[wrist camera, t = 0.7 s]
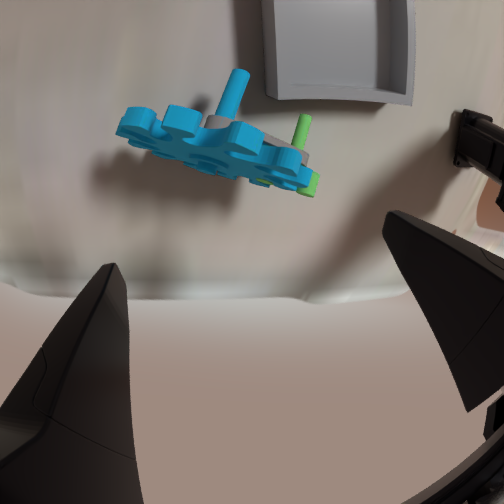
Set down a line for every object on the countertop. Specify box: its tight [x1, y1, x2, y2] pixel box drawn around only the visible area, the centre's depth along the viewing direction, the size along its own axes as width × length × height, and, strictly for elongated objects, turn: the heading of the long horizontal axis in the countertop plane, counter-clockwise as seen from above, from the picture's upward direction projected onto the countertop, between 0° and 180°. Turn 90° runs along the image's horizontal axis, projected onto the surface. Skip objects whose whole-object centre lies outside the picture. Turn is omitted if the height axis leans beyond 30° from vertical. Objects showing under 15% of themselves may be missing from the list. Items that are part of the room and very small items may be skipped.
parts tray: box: [261, 0, 416, 106], centre depth 11 cm, size 11×15×2 cm
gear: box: [115, 69, 320, 197], centre depth 13 cm, size 11×6×10 cm, turn 64°
